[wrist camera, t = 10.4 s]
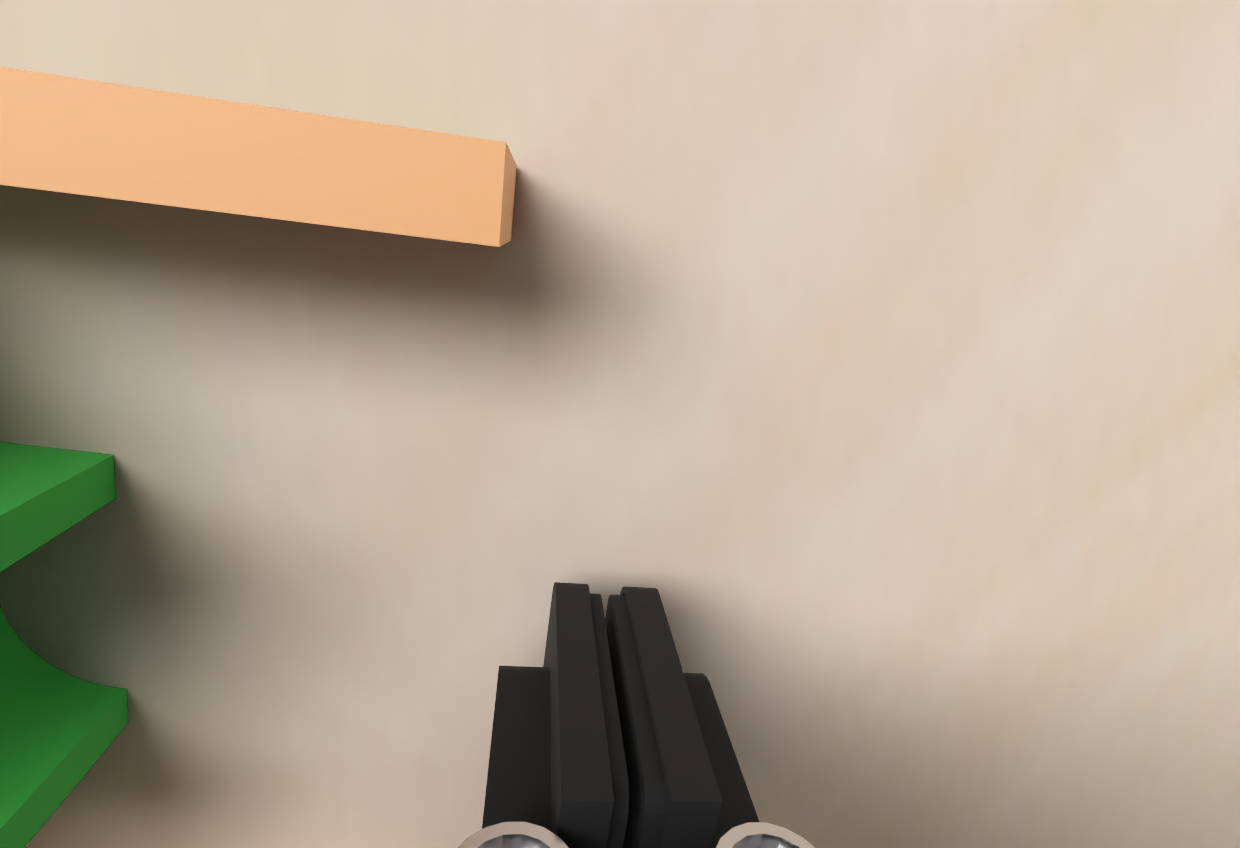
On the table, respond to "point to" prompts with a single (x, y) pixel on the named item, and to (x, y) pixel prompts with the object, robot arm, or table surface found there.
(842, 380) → the table surface
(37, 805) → the pipe clamp
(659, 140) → the table surface
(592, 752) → the robot arm
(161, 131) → the orange and grey frame
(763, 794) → the table surface
